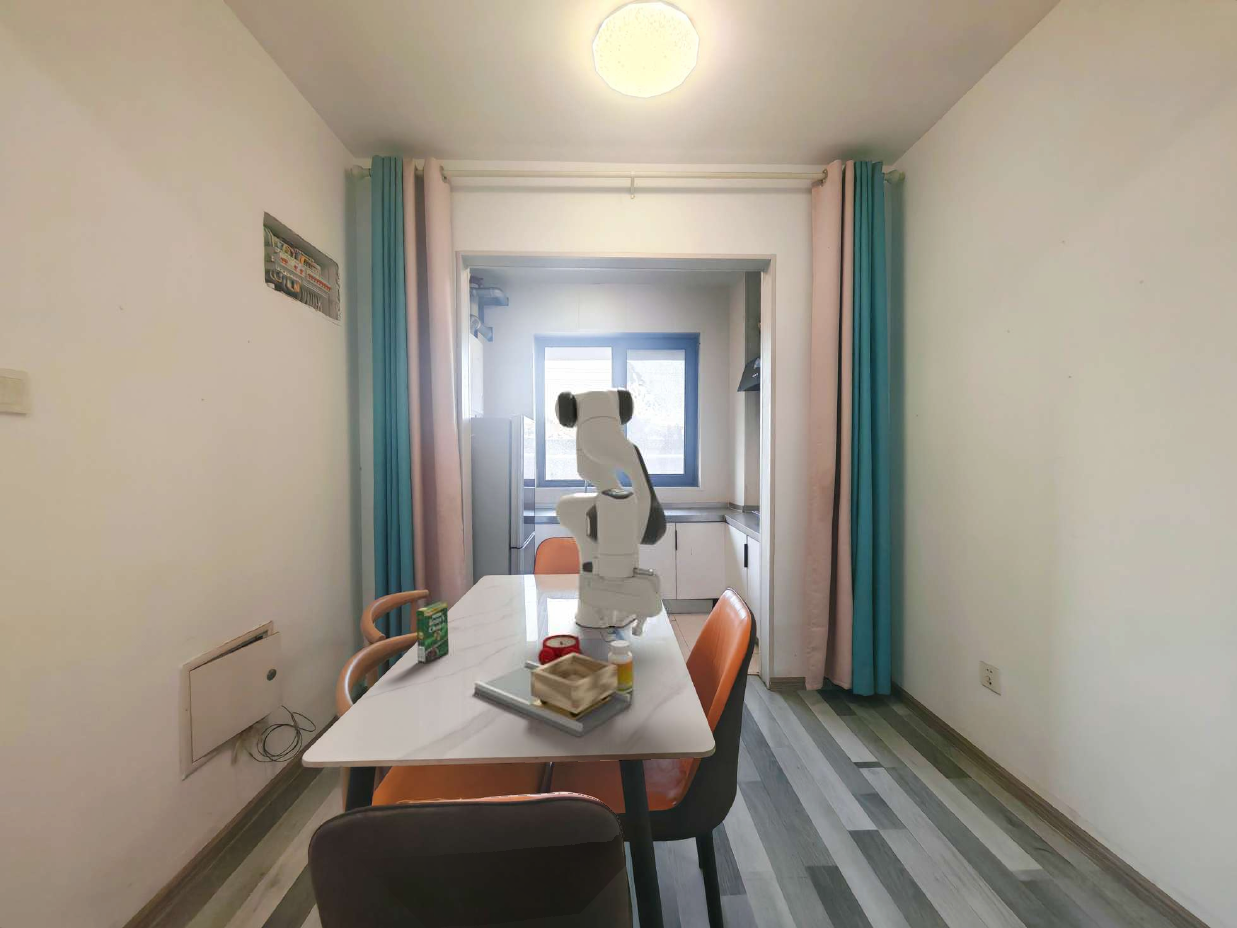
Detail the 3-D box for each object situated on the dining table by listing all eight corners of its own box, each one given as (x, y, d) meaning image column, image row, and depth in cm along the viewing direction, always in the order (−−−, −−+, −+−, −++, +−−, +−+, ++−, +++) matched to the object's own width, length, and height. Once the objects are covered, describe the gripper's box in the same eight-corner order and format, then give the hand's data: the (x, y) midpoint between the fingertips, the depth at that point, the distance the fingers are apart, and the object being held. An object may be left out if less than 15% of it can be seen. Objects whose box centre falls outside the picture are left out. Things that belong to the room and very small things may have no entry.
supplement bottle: (638, 690, 107) (637, 644, 107) (616, 696, 104) (615, 649, 104) (624, 681, 112) (623, 637, 112) (603, 687, 109) (602, 642, 109)
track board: (528, 668, 119) (528, 660, 119) (630, 704, 101) (630, 694, 101) (474, 691, 107) (474, 682, 107) (579, 737, 89) (579, 725, 89)
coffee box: (424, 664, 123) (424, 610, 123) (416, 662, 124) (415, 609, 124) (449, 653, 130) (448, 602, 130) (441, 651, 131) (440, 600, 131)
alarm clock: (583, 633, 133) (578, 639, 119) (583, 658, 132) (578, 668, 117) (544, 633, 133) (534, 640, 119) (543, 659, 132) (533, 668, 117)
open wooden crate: (573, 682, 108) (573, 652, 108) (617, 698, 101) (617, 665, 101) (531, 704, 99) (530, 670, 99) (576, 722, 91) (575, 686, 91)
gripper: (667, 568, 104) (668, 636, 104) (592, 558, 117) (593, 619, 116) (650, 573, 99) (651, 644, 99) (573, 563, 112) (574, 626, 111)
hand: (619, 630), depth 108 cm, fingers open, 8 cm apart
